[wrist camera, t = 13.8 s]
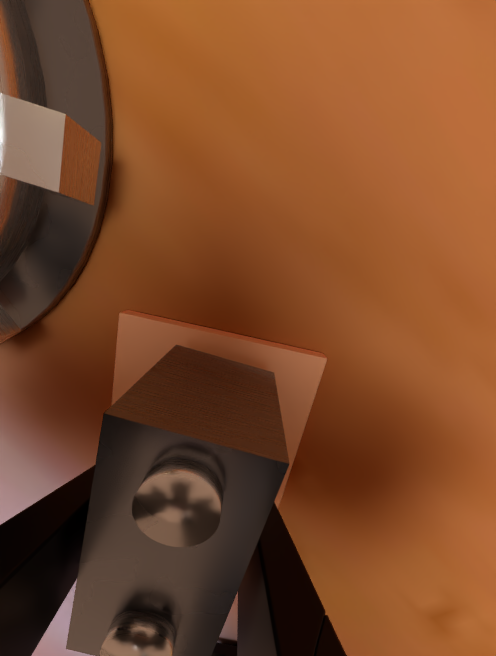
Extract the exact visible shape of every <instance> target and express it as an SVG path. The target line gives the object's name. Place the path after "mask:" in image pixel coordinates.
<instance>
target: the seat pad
mask: <svg viewBox="0 0 496 656" xmlns="http://www.w3.org/2000/svg"><path fill="white" fill-rule="evenodd" d="M176 344H177V345H180V346H184V347H187V348H191V349H194V350H197V351H201V352H204V353H208V354H211V355H215V356H218V357H222V358H225V359H229V360H232V361H236V362H239V363H243V364H246V365H250V366H253V367H257V368H260V369H264V370H267V371H271V372H274V375H275V381H276V387H277V393H278V398H279V404H280V410H281V416H282V422H283V428H284V434H285V440H286V446H287V452H288V458H289V467H288V469H287V471H286V474H285V476H284V479H283V481H282V484H281V486H280V489H279V491H278V494H277V496H276V498H275V501H274V502H275V504H276V506H277V509H278V508H279V505H280V502H281V499H282V495H283V492H284V489H285V486H286V483H287V480H288V477H289V474H290V471H291V468H292V465H293V462H294V459H295V456H296V453H297V450H298V447H299V444H300V441H301V438H302V434H303V431H304V428H305V425H306V422H307V419H308V416H309V413H310V410H311V407H312V404H313V401H314V398H315V395H316V392H317V389H318V386H319V383H320V380H321V377H322V373H323V370H324V367H325V364H326V361H327V358H326V356H325V355H324V354H323V353H320V352H315V351H311V350H306V349H302V348H297V347H293V346H288V345H284V344H280V343H275V342H271V341H266V340H262V339H257V338H253V337H248V336H244V335H239V334H235V333H230V332H226V331H221V330H217V329H212V328H208V327H203V326H199V325H194V324H190V323H185V322H181V321H176V320H172V319H167V318H163V317H158V316H154V315H149V314H145V313H140V312H136V311H131V310H125V311H122V312H119V322H118V334H117V346H116V357H115V369H114V381H113V393H112V404H111V406H112V405H113V404H114V403H115V402H116V401H117V400H118V399H119V398H120V397H121V396H122V395H123V394H125V393H126V392H127V391H128V390H129V389H130V388H131V387H132V386H133V385H134V384H135V383H136V382H137V381H138V380H139V379H140V378H141V377H142V376H144V375H145V374H146V373H147V372H148V371H149V370H150V369H151V368H152V367H153V366H154V365H155V364H156V363H157V362H158V361H159V360H160V359H161V358H162V357H164V356H165V355H166V354H167V353H168V352H169V351H170V350H171V349H172V348H173V347H174V346H175V345H176Z"/></svg>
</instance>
